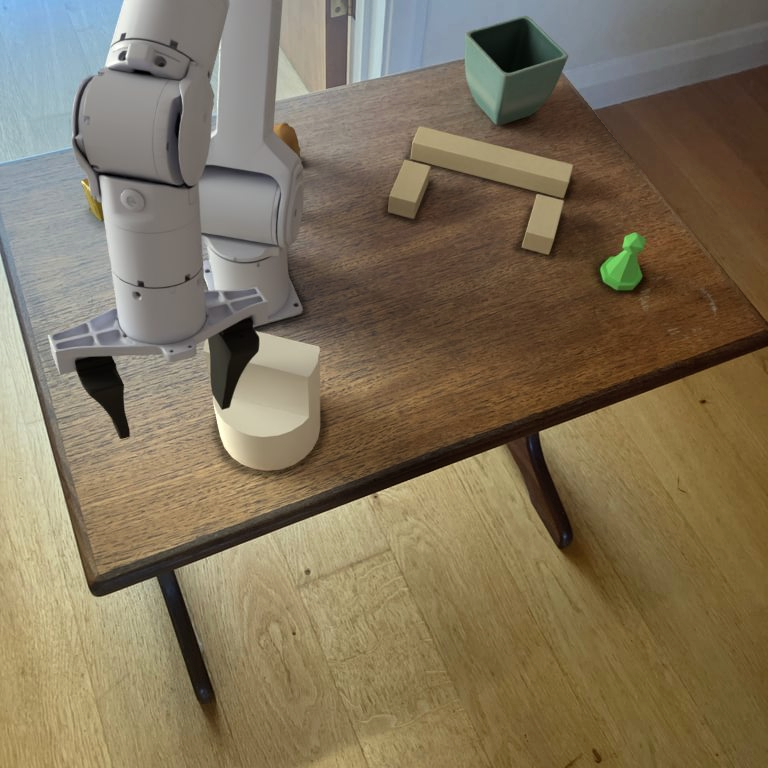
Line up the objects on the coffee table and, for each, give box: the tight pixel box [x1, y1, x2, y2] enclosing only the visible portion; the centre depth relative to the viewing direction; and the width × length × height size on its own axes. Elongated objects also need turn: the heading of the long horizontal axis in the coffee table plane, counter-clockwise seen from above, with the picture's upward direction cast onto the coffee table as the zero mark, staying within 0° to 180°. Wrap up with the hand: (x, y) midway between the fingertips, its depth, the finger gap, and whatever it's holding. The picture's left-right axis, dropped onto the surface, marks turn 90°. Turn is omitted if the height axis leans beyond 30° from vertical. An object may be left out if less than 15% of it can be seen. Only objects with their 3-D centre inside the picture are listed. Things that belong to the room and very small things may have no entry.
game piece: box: [599, 231, 647, 291], centre depth 84 cm, size 4×4×6 cm
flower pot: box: [464, 15, 569, 126], centre depth 96 cm, size 9×9×9 cm
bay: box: [387, 125, 574, 255], centre depth 91 cm, size 12×18×2 cm, turn 73°
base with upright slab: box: [203, 330, 321, 472], centre depth 69 cm, size 9×9×12 cm
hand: (172, 414), depth 61 cm, fingers open, 7 cm apart
